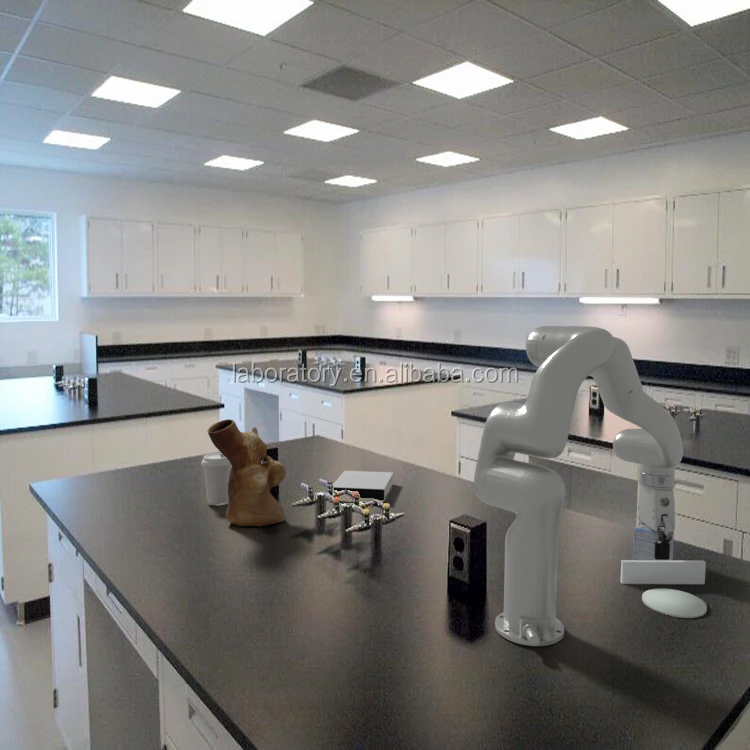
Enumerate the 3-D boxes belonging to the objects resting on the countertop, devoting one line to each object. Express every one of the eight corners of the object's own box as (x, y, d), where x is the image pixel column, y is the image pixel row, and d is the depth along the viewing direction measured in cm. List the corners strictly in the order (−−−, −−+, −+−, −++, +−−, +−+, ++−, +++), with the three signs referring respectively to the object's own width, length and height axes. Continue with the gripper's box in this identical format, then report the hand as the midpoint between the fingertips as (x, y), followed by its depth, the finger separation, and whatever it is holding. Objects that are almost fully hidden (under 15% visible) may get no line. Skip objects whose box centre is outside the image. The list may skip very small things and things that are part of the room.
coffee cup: (229, 508, 194) (228, 459, 192) (198, 507, 194) (197, 459, 192) (237, 498, 203) (236, 452, 202) (207, 498, 203) (205, 452, 202)
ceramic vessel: (294, 523, 180) (293, 418, 177) (220, 538, 168) (217, 426, 165) (271, 508, 193) (269, 410, 190) (200, 522, 181) (197, 418, 178)
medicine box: (673, 566, 149) (674, 530, 148) (666, 572, 146) (668, 535, 145) (638, 557, 154) (640, 523, 154) (631, 563, 151) (633, 527, 150)
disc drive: (328, 503, 200) (328, 487, 200) (344, 483, 222) (344, 469, 222) (383, 505, 197) (383, 490, 197) (394, 485, 219) (394, 471, 219)
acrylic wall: (704, 584, 140) (705, 562, 139) (622, 583, 140) (622, 561, 139) (702, 582, 141) (703, 560, 140) (620, 581, 141) (621, 560, 140)
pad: (718, 618, 124) (718, 615, 124) (656, 617, 124) (656, 615, 124) (689, 591, 136) (689, 588, 136) (632, 590, 136) (633, 588, 136)
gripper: (690, 490, 139) (686, 566, 141) (656, 470, 157) (653, 538, 158) (656, 490, 139) (652, 566, 141) (626, 470, 157) (623, 538, 159)
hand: (653, 551), depth 150 cm, fingers closed on medicine box, 8 cm apart
